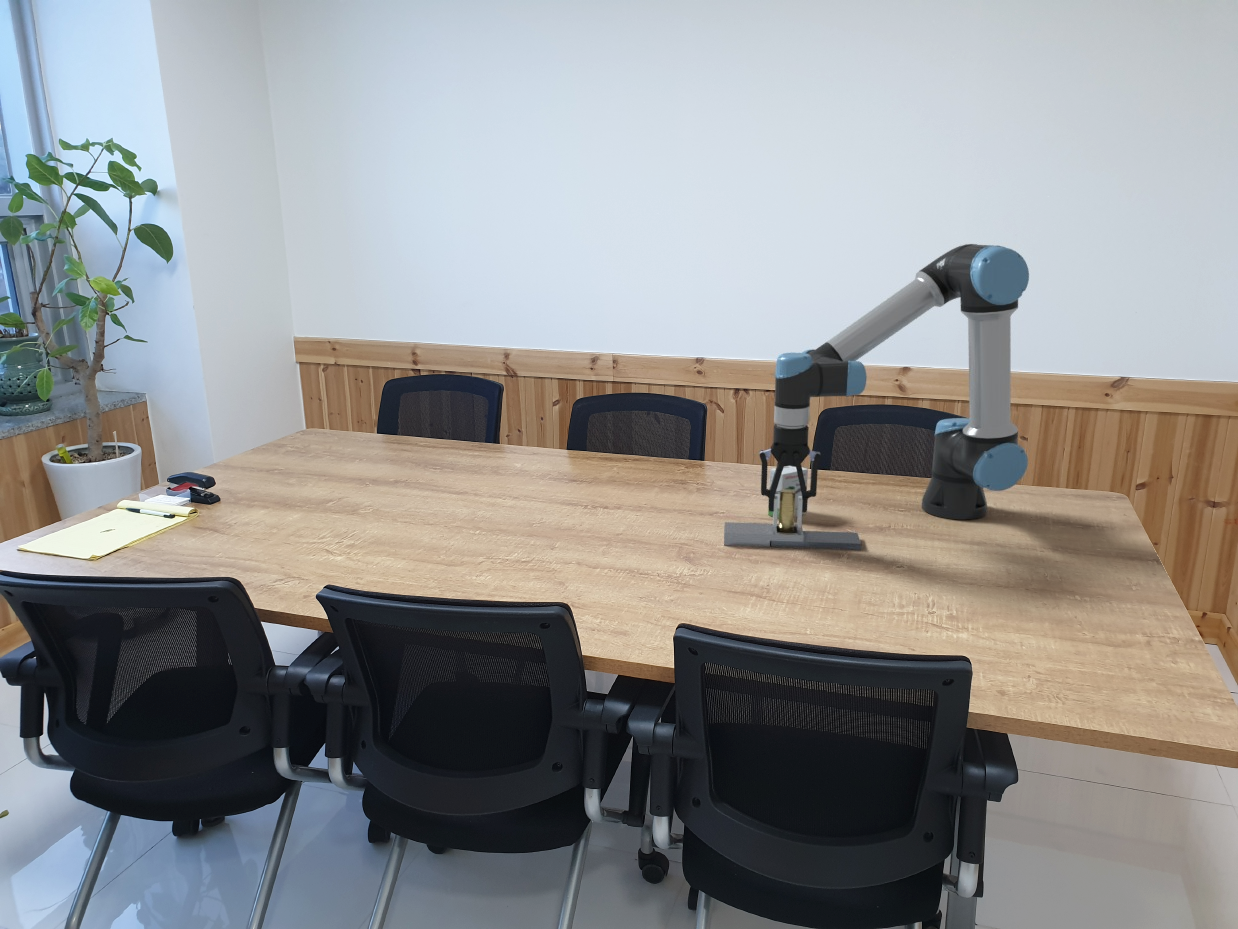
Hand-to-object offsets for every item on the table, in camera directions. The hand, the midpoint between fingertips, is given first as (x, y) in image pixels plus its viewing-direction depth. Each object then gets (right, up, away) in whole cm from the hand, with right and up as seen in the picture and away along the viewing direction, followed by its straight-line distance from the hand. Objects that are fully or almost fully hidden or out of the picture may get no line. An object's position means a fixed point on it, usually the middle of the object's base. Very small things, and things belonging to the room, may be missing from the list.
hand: (786, 524), depth 205 cm
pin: (0, -4, +1) cm, 4 cm away
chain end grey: (-5, -4, +2) cm, 7 cm away
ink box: (+4, +1, +19) cm, 20 cm away
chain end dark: (+6, -4, 0) cm, 7 cm away
